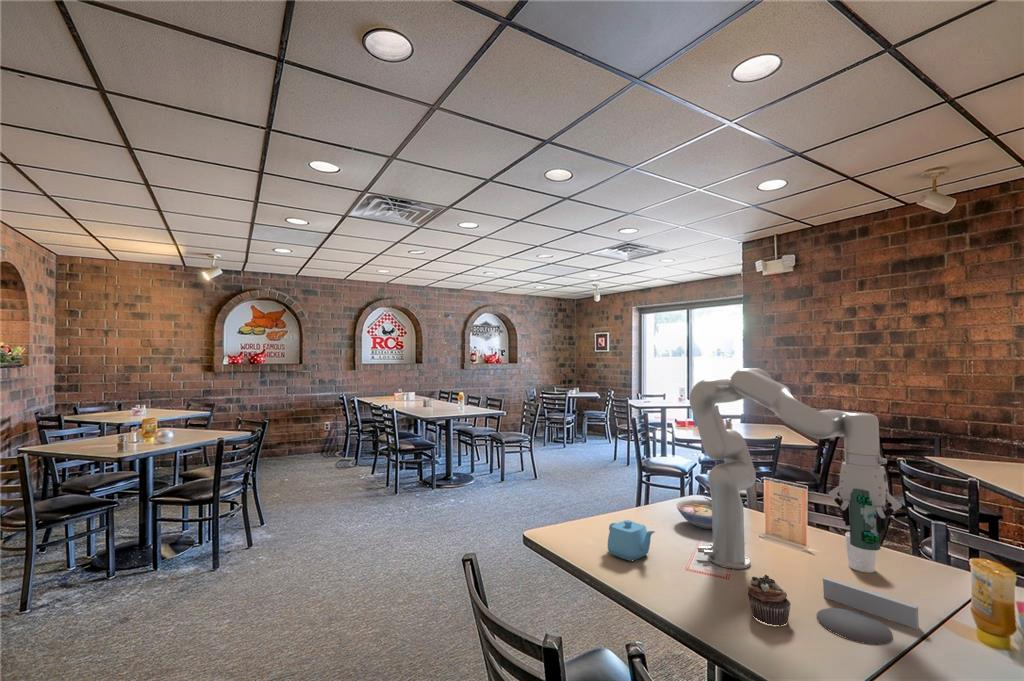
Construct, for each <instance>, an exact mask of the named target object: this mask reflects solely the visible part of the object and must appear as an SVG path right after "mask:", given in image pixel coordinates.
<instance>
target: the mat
mask: <svg viewBox="0 0 1024 681" xmlns="http://www.w3.org/2000/svg"><path fill="white" fill-rule="evenodd" d="M816 619H818V620H819V622H820V623H821V624H822V625H823V626H824V627H823V626H822V625H821V624H820V623H819V622H818V623H819V624H820V625H821V626H822V627H823V628H825V627H826V628H827V629H826V628H825V629H826V630H828V629H829V630H831V631H832V632H831V631H830V632H831V633H833V632H834V633H833V634H835V633H837V634H839V635H841V636H843V637H842V638H844V637H846V638H845V639H847V638H848V639H847V640H850V639H851V640H850V641H853V640H854V641H853V642H857V641H858V643H861V642H864V643H863V644H867V643H874V644H873V645H883V644H882V643H884V644H887V643H886V642H888V641H890V640H891V639H892V640H893V633H892V631H891V629H890V628H889V627H888V626H887V625H886V624H884V623H882V622H881V621H880V620H877V619H876V618H874V617H872V616H870V615H867V614H864V613H862V612H859V611H858V612H857V611H856V610H855V611H854V610H850V609H845V608H840V607H839V608H837V607H836V608H835V607H826V608H823V609H820V610H818V611H817V613H816ZM818 620H817V621H818ZM829 630H828V631H829ZM837 634H836V635H837ZM839 635H838V636H839ZM841 636H840V637H841ZM892 640H891V641H892ZM891 641H890V642H891ZM879 643H881V644H879ZM888 643H889V642H888Z"/></svg>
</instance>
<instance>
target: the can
mask: <svg viewBox="0 0 1024 681" xmlns="http://www.w3.org/2000/svg"><path fill="white" fill-rule="evenodd" d="M878 517H879V514H878V512H877V510H876V508H875V506H873V505H872V499H871V501H870V498H869V491H864V490H858V489H853V491H852V493H851V501H850V502H849V521H850V525H849V532H850V544H851V545H852V546H855V547H857V548H861V549H866V550H873V551H874V550H876V552H877V551H879V550H881V534H880V533H878V529H877V518H878Z"/></svg>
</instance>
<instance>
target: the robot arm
mask: <svg viewBox="0 0 1024 681" xmlns="http://www.w3.org/2000/svg"><path fill="white" fill-rule="evenodd" d="M791 393H792V392H791V389H790V388H789V387H788V386H786V385H784V384H782V383H780V382H778V381H776V380H774V379H773V378H772V377H771V375H770V374H769V373H768V372H767V371H766V370H764V369H761V368H757V367H756V368H755V367H748V368H747V367H746V368H744V367H743V368H740V369H737V370H736V371H735V372H733V374H732V376H728V377H723V378H722V377H721V378H720V377H715V378H705V379H702V380H700V381H698V382H697V383H696V384H695V385H694V386H693V387H692V389H691V391H690V393H689V406H690V408H691V409H690V410H691V412H692V415H693V416H694V420H695V423H696V427H697V430H698V434H699V437H700V440H701V444H702V447H703V450H704V453H705V454H706V456H707V457H708V458H709V459H711V460H717V461H718V460H719V461H721V460H723V461H724V463H719V464H716V465H715V466H713V467H712V468H711V469H710V471H709V473H708V476H707V478H708V480H707V482H708V486H709V492H710V497H711V499H710V501H711V500H712V529H711V530H712V531H711V532H712V542H710V543H709V544H710V545H707V546H701V545H698V546H697V552H698V553H703V554H704V556H707V558H709V559H708V561H710V562H711V561H712V562H713V563H712V562H711V563H712V564H714V563H715V564H714V565H716V564H717V565H716V566H719V565H720V566H719V567H722V566H724V567H723V568H726V567H727V568H726V569H731V568H732V569H733V570H735V569H736V570H737V569H738V570H744V569H747V568H749V567H750V566H751V560H750V558H749V557H748V556H746V554H745V552H746V551H745V524H744V523H745V522H744V521H745V519H744V514H745V513H744V504H743V500H742V497H741V495H740V492H741V491H744V490H747V489H750V488H751V487H753V486H754V484H755V482H756V479H757V475H756V469H755V466H754V463H753V460H752V457H751V454H750V453H751V452H750V450H749V448H748V445H747V442H746V439H745V438H744V436H742V434H741V433H740V432H738V431H737V430H735V429H729V428H728V429H727V428H726V426H725V423H724V420H723V417H722V415H721V413H720V411H719V410H718V409H717V407H716V404H724V403H726V404H727V403H731V402H732V403H734V402H737V401H740V400H743V399H749V400H752V401H753V402H755V403H756V404H759V405H760V406H763V407H764V408H767V409H768V410H770V411H771V412H773V413H774V415H776V416H777V417H778V418H779V419H780V420H781V421H783V422H784V423H785V424H786V425H788V426H790V427H792V428H794V429H796V430H798V431H799V432H801V433H803V434H804V435H806V436H809V437H811V438H815V439H818V440H824V439H830V438H836V437H843V441H844V442H843V444H844V445H843V446H844V461H843V462H842V463H841V467H840V474H839V480H838V481H839V483H838V485H837V486H836V487H834V488H832V490H830V491H828V495H829V497H831V499H833V501H834V502H835V503H836V505H838V506H839V508H840V509H841V510H842V521H843V522H844V525H845V527H850V521H849V502H850V501H851V493H852V491H853V489H858V490H864V491H869V498H870V501H871V499H872V505H873V506H875V508H876V510H877V512H878V514H879V517H878V518H877V529H878V533H880V535H882V534H884V532H885V531H887V530H888V529H887V517H888V516H890V515H892V514H893V513H895V512H897V511H898V510H899V509H900V508H902V506H903V505H902V504H901V502H900V501H898V500H897V499H896V498H895V497H893V496H892V495H891V493H890V492H889V484H888V477H887V474H886V473H887V472H886V469H885V467H884V466H882V464H885V465H887V464H888V459H887V458H884V457H882V456H881V454H880V428H879V426H880V424H879V419H878V416H876V415H875V414H872V413H867V412H848V411H842V410H837V409H824V410H823V409H822V410H818V409H816V408H813V407H811V406H809V405H807V404H805V403H804V402H801V401H799V400H798V399H797V398H795V397H794V396H793V395H792V394H791ZM838 494H839V495H838ZM889 503H890V504H891V506H890V507H889V508H887V509H886V507H885V505H887V504H889ZM732 569H731V570H732Z"/></svg>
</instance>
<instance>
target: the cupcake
mask: <svg viewBox="0 0 1024 681" xmlns="http://www.w3.org/2000/svg"><path fill="white" fill-rule="evenodd" d="M747 591H748V592H747V598H748V602H749V605H750V610H751V613H752V614H753V615H752V614H751V615H752V617H753V616H754V617H755V618H757V619H758V620H760V621H762V622H765V623H767V624H772V625H779V626H781V625H784V624H786V623H787V622H789V617H790V610H791V604H792V603H791V601H790V600H789V599H788V598H787V597H788V594H787V591H785V590H784V589H783V588H782V587H781V586H780V585H779V584H778V582H776V581H775V579H773V578H770V576H769V575H767V574H765V575H763V576H762V577H756V576H752V577H751V580H750V583H749V585H748V586H747ZM754 617H753V618H754ZM787 624H788V623H787Z"/></svg>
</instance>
